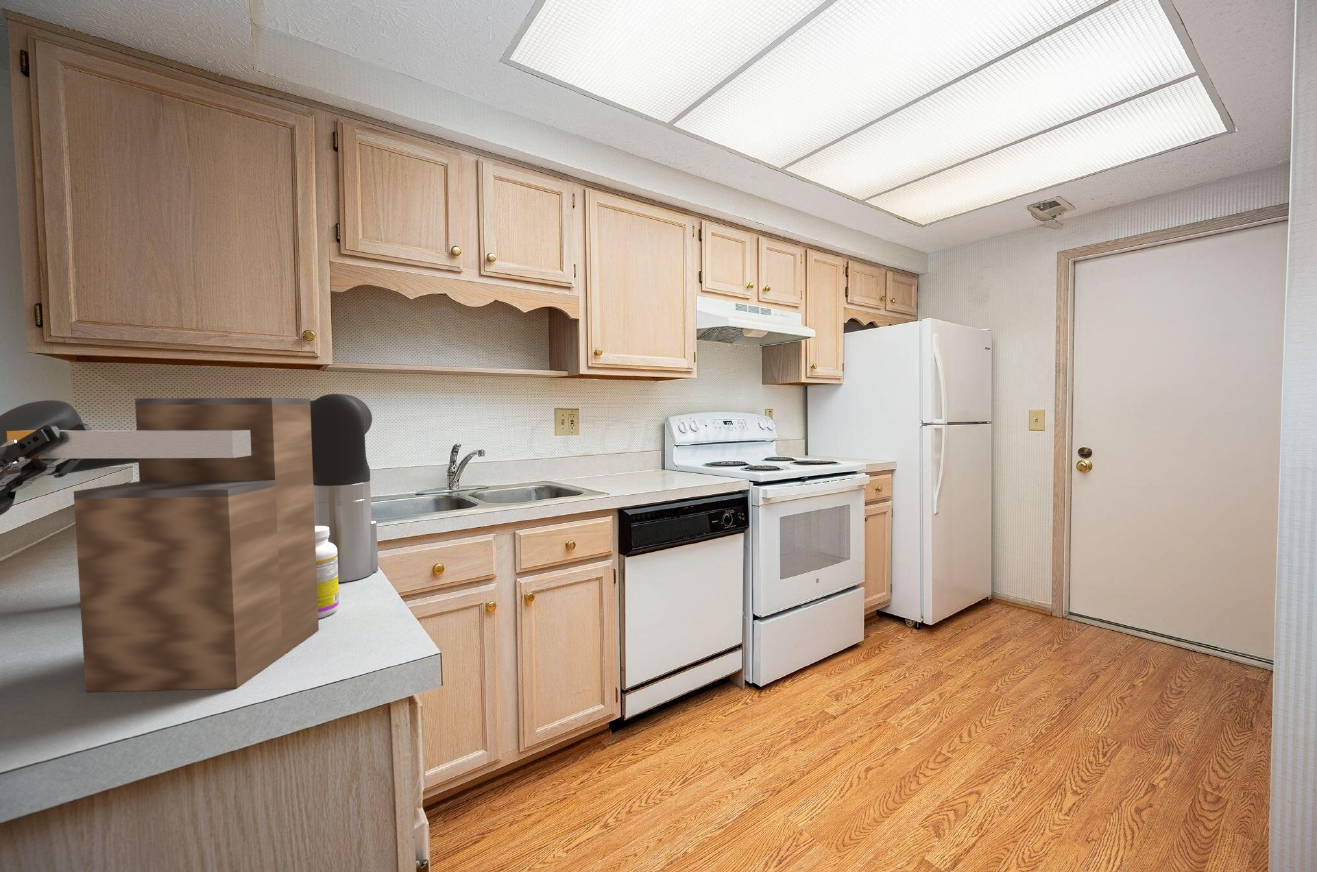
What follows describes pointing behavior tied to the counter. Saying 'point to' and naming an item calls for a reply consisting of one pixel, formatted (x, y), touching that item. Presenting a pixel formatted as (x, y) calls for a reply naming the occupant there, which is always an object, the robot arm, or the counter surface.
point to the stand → (201, 553)
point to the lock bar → (147, 444)
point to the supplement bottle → (326, 573)
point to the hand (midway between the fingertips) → (73, 431)
